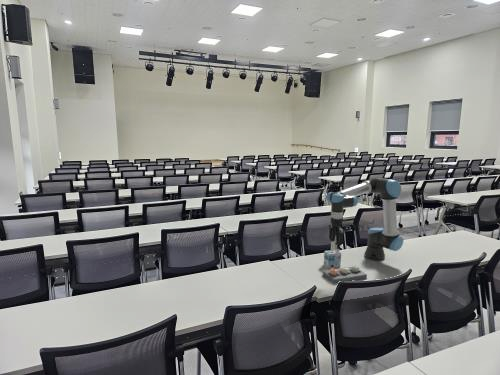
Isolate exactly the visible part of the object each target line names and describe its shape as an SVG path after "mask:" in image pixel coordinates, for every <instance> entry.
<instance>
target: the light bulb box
mask: <svg viewBox="0 0 500 375" xmlns="http://www.w3.org/2000/svg"><path fill="white" fill-rule="evenodd" d="M323 253H324V254H323V266H324V267H325V268H327V269H334V268H340V267H341V265H342V264H341V261H342V252H339V253H338V254H335V251H331V249H330V250H324V252H323Z"/></svg>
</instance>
